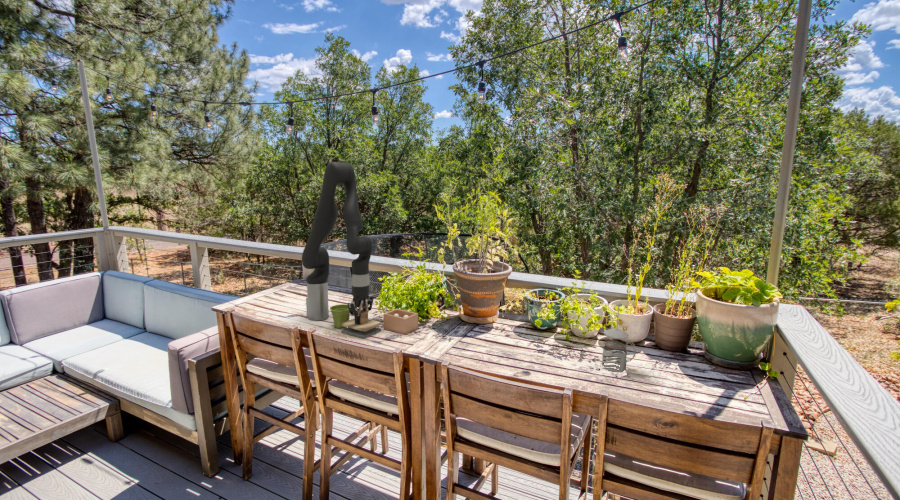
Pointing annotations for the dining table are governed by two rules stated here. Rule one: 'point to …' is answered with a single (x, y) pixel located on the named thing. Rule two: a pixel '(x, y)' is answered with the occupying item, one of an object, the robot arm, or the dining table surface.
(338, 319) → the plant pot
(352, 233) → the robot arm
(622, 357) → the french press
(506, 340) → the dining table surface
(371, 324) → the lid
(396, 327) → the box
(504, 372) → the dining table surface
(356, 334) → the mat
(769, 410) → the dining table surface
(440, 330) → the dining table surface
